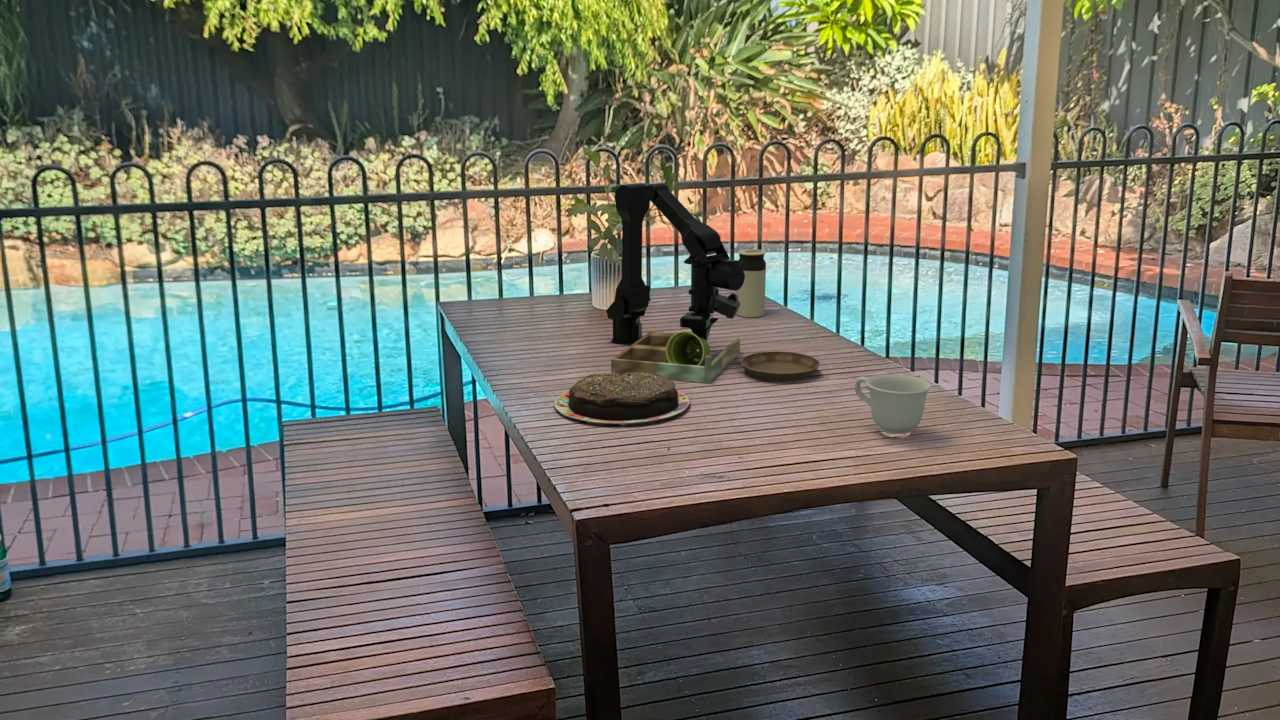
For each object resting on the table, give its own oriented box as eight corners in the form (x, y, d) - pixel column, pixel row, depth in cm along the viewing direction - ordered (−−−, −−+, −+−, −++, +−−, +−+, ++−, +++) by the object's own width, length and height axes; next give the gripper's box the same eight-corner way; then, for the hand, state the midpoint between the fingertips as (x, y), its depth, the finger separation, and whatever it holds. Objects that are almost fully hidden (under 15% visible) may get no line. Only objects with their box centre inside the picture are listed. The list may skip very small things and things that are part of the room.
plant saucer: (817, 387, 236) (817, 373, 235) (736, 382, 240) (736, 369, 239) (821, 366, 253) (821, 353, 252) (745, 362, 256) (745, 349, 256)
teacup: (868, 416, 215) (870, 368, 213) (938, 431, 206) (942, 381, 204) (838, 432, 206) (840, 381, 204) (910, 448, 197) (914, 396, 195)
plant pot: (678, 368, 256) (664, 371, 248) (680, 329, 256) (666, 330, 248) (716, 371, 253) (703, 373, 245) (717, 331, 252) (704, 332, 244)
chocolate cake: (538, 396, 231) (537, 366, 229) (660, 382, 240) (660, 354, 239) (577, 436, 206) (577, 403, 204) (712, 420, 215) (712, 388, 213)
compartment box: (611, 374, 245) (610, 348, 244) (650, 345, 271) (650, 321, 269) (709, 383, 238) (710, 357, 237) (740, 352, 264) (740, 328, 262)
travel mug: (769, 313, 305) (771, 250, 300) (756, 319, 298) (758, 254, 294) (743, 310, 309) (745, 248, 304) (731, 316, 302) (732, 252, 298)
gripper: (727, 294, 241) (726, 362, 246) (746, 278, 258) (745, 342, 263) (679, 291, 245) (679, 358, 249) (701, 276, 262) (700, 338, 266)
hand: (702, 349), depth 256 cm, fingers closed
